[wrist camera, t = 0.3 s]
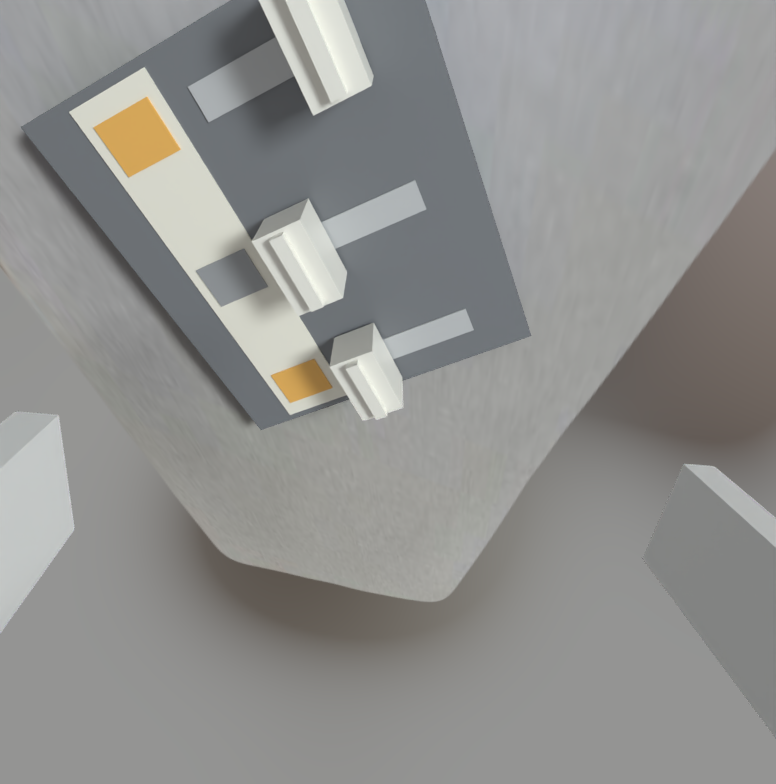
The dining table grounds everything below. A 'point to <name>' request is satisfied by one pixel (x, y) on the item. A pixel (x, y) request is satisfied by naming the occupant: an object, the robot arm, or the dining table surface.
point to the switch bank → (292, 200)
